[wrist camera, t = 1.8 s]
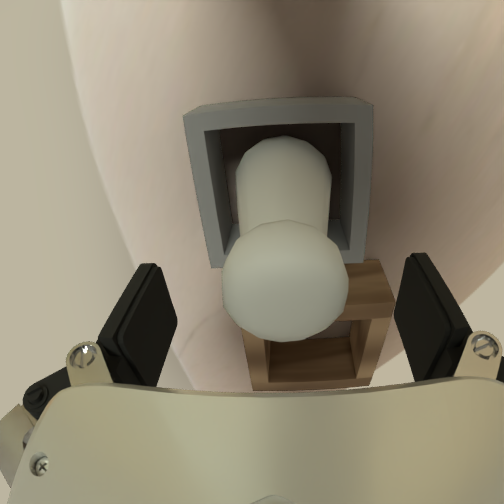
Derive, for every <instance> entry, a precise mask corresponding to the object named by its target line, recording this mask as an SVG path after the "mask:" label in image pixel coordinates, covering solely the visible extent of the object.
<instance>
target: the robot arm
mask: <svg viewBox="0 0 504 504" xmlns="http://www.w3.org/2000/svg"><path fill="white" fill-rule="evenodd" d="M394 319H395V322H396V325H397V328H398V330H399V333H400V336H401V339H402V342H403V345H404V348H405V351H406V354H407V358H408V361H409V364H410V367H411V371H412V374H413V377H414V380H415V382H411V383H404V384H396V385H388V386H379V387H371V388H362V389H350V390H336V391H320V392H298V393H235V392H211V391H195V390H181V389H171V388H159V387H156V386H157V383H158V380H159V377H160V374H161V371H162V368H163V365H164V362H165V359H166V356H167V353H168V350H169V347H170V344H171V341H172V339H173V336H174V333H175V330H176V327H177V316H176V313H175V310H174V307H173V304H172V301H171V298H170V295H169V292H168V288H167V285H166V282H165V279H164V276H163V272H162V269H161V268H160V267H157V265H156V264H155V263H143V264H140V266H139V267H138V269H137V270H136V272H135V274H134V275H133V277H132V279H131V280H130V282H129V284H128V285H127V287H126V289H125V290H124V292H123V294H122V296H121V297H120V299H119V300H118V302H117V304H116V306H115V307H114V309H113V311H112V312H111V314H110V316H109V318H108V319H107V321H106V323H105V325H104V327H103V328H102V330H101V332H100V334H99V336H98V340H97V342H96V343H94V342H90V341H88V342H82V343H79V344H78V345H76V346H74V347H73V348H72V349H71V350H70V352H69V353H68V355H67V357H66V367H64V368H62V369H61V370H59V371H57V372H55V373H53V374H51V375H49V376H48V377H46V378H44V379H42V380H40V381H38V382H36V383H34V384H33V385H31V386H30V387H29V388H28V389H27V390H26V392H25V394H24V397H23V405H22V406H20V404H18V405H17V406H15V407H14V408H13V409H12V410H11V411H10V412H9V413H8V414H7V415H6V416H4V417H3V418H2V419H1V420H0V470H1V472H2V474H3V476H4V478H5V479H6V481H7V483H8V485H9V486H10V488H11V491H10V495H9V498H8V502H7V504H504V357H503V356H502V346H501V343H500V342H499V340H498V339H497V338H496V337H495V336H494V335H492V334H490V333H489V332H485V331H476V332H473V331H472V329H471V328H470V326H469V324H468V322H467V320H466V318H465V317H464V315H463V313H462V311H461V309H460V307H459V306H458V304H457V302H456V300H455V299H454V297H453V295H452V293H451V292H450V290H449V288H448V287H447V285H446V284H445V282H444V280H443V279H442V277H441V275H440V274H439V272H438V271H437V269H436V267H435V266H434V264H433V263H432V261H431V260H430V258H429V257H428V255H427V254H426V253H412V254H411V255H410V257H407V258H406V261H405V266H404V271H403V276H402V280H401V285H400V289H399V293H398V297H397V301H396V306H395V309H394Z"/></svg>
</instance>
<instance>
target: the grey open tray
mask: <svg viewBox="0 0 504 504" xmlns="http://www.w3.org/2000/svg"><path fill="white" fill-rule="evenodd" d="M183 121H184V127H185V133H186V139H187V145H188V151H189V156H190V162H191V168H192V173H193V179H194V184H195V190H196V195H197V200H198V205H199V211H200V216H201V221H202V226H203V231H204V236H205V241H206V245H207V250H208V255H209V260H210V264H211V268H223V267H224V264H225V261H226V259H227V257H228V255H229V253H230V251H231V249H232V248H233V246H234V244H235V242H236V240H237V239H238V238H239V237H240V229H239V224H232V218H231V211H230V204H229V197H228V190H227V183H226V176H225V169H224V161H223V154H222V147H221V140H220V132H219V129H226V128H236V127H248V126H261V125H276V124H298V123H341V188H340V218H339V220H328V230H327V237H328V238H329V239H330V240H331V241H333V242H334V243H335V244H336V245H337V246H338V249H339V251H340V254H341V257H342V260H343V263H344V264H348V263H363V261H364V253H365V245H366V236H367V227H368V216H369V205H370V191H371V175H372V153H373V105H372V104H369V103H367V102H365V101H363V100H360V99H358V98H356V97H292V98H272V99H258V100H246V101H236V102H226V103H218V104H210V105H203V106H199V107H197V108H196V109H194V110H192V111H190V112H188V113H187V114H185V115H183Z"/></svg>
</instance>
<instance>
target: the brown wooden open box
mask: <svg viewBox="0 0 504 504" xmlns="http://www.w3.org/2000/svg"><path fill="white" fill-rule="evenodd" d="M344 266H345V269H346V272H347V275H348V278H349V281H348V295H347V299H346V303H345V307H344V311H343V312H342V314H341V315H340V316H339V317H338V318H337V319H336V320H335V321H349V320H352V325H351V330H350V336H349V337H342V338H324V339H304V340H298V341H288V342H277V341H272V340H266V339H261V338H258V337H256V336H255V335H253V334H251V333H250V332H248V331H246V330H245V329H243V328H241V330H242V336H243V341H244V347H245V352H246V357H247V362H248V368H249V373H250V378H251V383H252V388H253V391H296V390H320V389H336V388H349V387H359V386H369V384H370V381H371V379H372V376H373V373H374V370H375V368H376V365H377V362H378V359H379V356H380V353H381V350H382V347H383V344H384V340H385V337H386V334H387V331H388V327H389V324H390V320H391V317H392V313H393V310H394V306H395V299H394V296H393V294H392V291H391V289H390V286H389V283H388V281H387V278H386V276H385V273H384V271H383V268H382V266H381V264H380V261H379V259H378V260H364V261H363V263H348V264H344Z"/></svg>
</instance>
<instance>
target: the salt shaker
mask: <svg viewBox="0 0 504 504" xmlns="http://www.w3.org/2000/svg"><path fill="white" fill-rule="evenodd" d="M331 182H332V175H331V172H330V169H329V167H328V164H327V161H326V158H325V156H324V155H322V154H321V153H320V152H319V151H318V150H317V149H315V148H314V147H313V146H312V145H311V144H309V143H308V142H307V141H304V140H300V139H297V138H294V137H290V136H287V135H283V136H278V137H272V138H267V139H263V140H262V141H260V142H259V143H258V144H256V145H255V146H253V147H252V148H251V149H249V150H248V151H246V152H245V154H244V156H243V158H242V160H241V162H240V164H239V166H238V168H237V170H236V198H237V209H238V219H239V229H240V237H239V238H238V239H237V240H236V242H235V244H234V246H233V248H232V249H231V251H230V253H229V255H228V257H227V259H226V261H225V264H224V267H223V270H222V295H223V307H224V308H225V310H226V311H227V312H228V314H229V315H230V316H231V318H232V319H233V320H234V322H235V323H236V324H237V325H238V326H240V327H241V328H243V329H245V330H246V331H248V332H250V333H251V334H253V335H255V336H256V337H258V338H261V339H266V340H272V341H277V342H288V341H298V340H304V339H306V338H308V337H310V336H312V335H315V334H317V333H319V332H321V331H323V330H325V329H326V328H328V327H329V326H330V325H331V324H332V323H333V322H334V321H335V320H336V319H337V318H338V317H339V316H340V315H341V314H342V312H343V311H344V307H345V303H346V299H347V295H348V281H349V278H348V275H347V272H346V269H345V266H344V263H343V260H342V257H341V254H340V251H339V249H338V246H337V245H336V244H335V243H334V242H333V241H331V240H330V239H329V238H328V237H327V230H328V218H329V205H330V192H331Z"/></svg>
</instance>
